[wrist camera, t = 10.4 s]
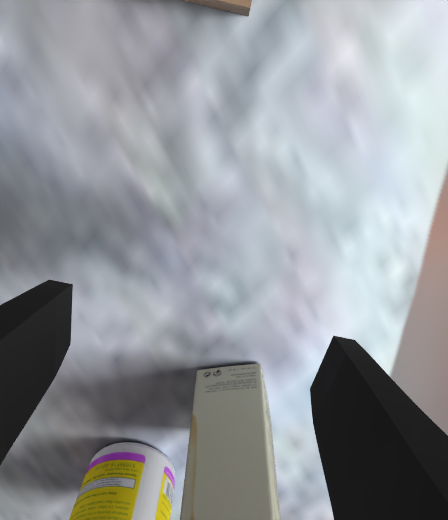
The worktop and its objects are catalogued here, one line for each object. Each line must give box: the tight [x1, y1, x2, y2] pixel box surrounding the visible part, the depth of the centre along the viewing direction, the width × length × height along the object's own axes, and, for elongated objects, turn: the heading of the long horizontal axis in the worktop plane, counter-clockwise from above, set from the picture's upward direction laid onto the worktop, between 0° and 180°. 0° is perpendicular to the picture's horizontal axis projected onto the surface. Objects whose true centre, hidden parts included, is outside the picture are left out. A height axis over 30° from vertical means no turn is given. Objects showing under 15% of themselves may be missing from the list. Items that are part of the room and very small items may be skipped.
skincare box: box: [180, 364, 280, 520], centre depth 20 cm, size 6×4×12 cm
